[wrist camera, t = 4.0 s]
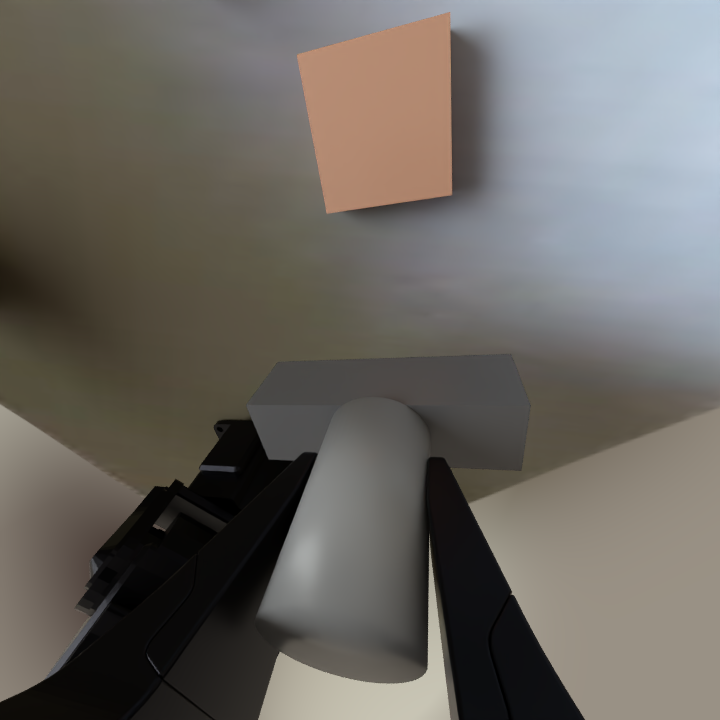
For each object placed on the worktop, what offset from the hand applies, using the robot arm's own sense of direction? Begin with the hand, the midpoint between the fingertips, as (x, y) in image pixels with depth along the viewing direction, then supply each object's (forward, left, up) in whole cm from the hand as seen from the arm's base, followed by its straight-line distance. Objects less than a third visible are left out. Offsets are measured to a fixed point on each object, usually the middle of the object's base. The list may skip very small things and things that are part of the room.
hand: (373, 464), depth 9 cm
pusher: (0, 0, -4) cm, 4 cm away
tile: (+8, 0, -10) cm, 13 cm away
